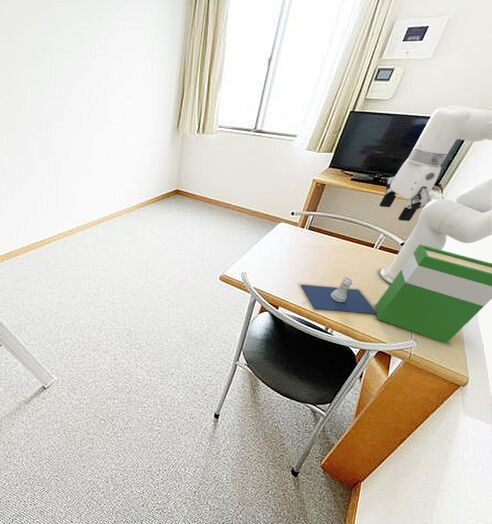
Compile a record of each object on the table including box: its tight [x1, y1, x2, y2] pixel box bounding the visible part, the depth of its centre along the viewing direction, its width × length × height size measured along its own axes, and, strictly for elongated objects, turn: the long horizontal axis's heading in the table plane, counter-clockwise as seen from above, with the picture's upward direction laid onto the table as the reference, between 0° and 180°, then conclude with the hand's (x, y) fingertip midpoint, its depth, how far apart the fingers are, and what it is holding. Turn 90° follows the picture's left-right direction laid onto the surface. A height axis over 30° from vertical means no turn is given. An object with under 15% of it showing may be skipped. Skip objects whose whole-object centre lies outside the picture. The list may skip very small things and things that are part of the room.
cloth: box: [300, 284, 377, 315], centre depth 102 cm, size 20×12×1 cm, turn 86°
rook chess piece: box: [331, 277, 353, 302], centre depth 100 cm, size 4×4×8 cm
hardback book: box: [374, 245, 492, 344], centre depth 87 cm, size 18×7×24 cm, turn 61°
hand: (393, 213), depth 94 cm, fingers open, 9 cm apart
